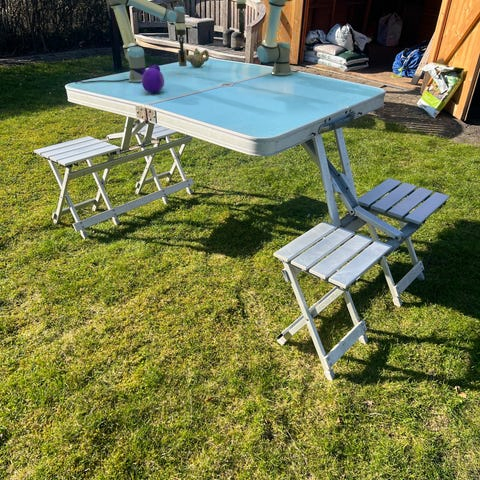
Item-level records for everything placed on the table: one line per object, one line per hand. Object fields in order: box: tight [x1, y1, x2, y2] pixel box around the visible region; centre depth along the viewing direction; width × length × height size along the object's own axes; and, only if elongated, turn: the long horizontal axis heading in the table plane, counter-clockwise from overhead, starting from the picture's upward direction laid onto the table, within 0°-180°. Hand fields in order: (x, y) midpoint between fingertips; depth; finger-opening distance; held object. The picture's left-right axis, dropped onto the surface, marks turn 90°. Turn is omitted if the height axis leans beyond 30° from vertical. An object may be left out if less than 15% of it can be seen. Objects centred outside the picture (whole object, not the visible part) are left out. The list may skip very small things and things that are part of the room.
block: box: [177, 49, 187, 67], centre depth 356 cm, size 6×5×12 cm
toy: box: [134, 64, 165, 94], centre depth 304 cm, size 16×18×27 cm
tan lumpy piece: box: [186, 48, 210, 68], centre depth 384 cm, size 21×12×15 cm, turn 120°
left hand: (182, 61), depth 357 cm, fingers closed on block, 5 cm apart
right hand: (241, 33), depth 359 cm, fingers open, 13 cm apart
